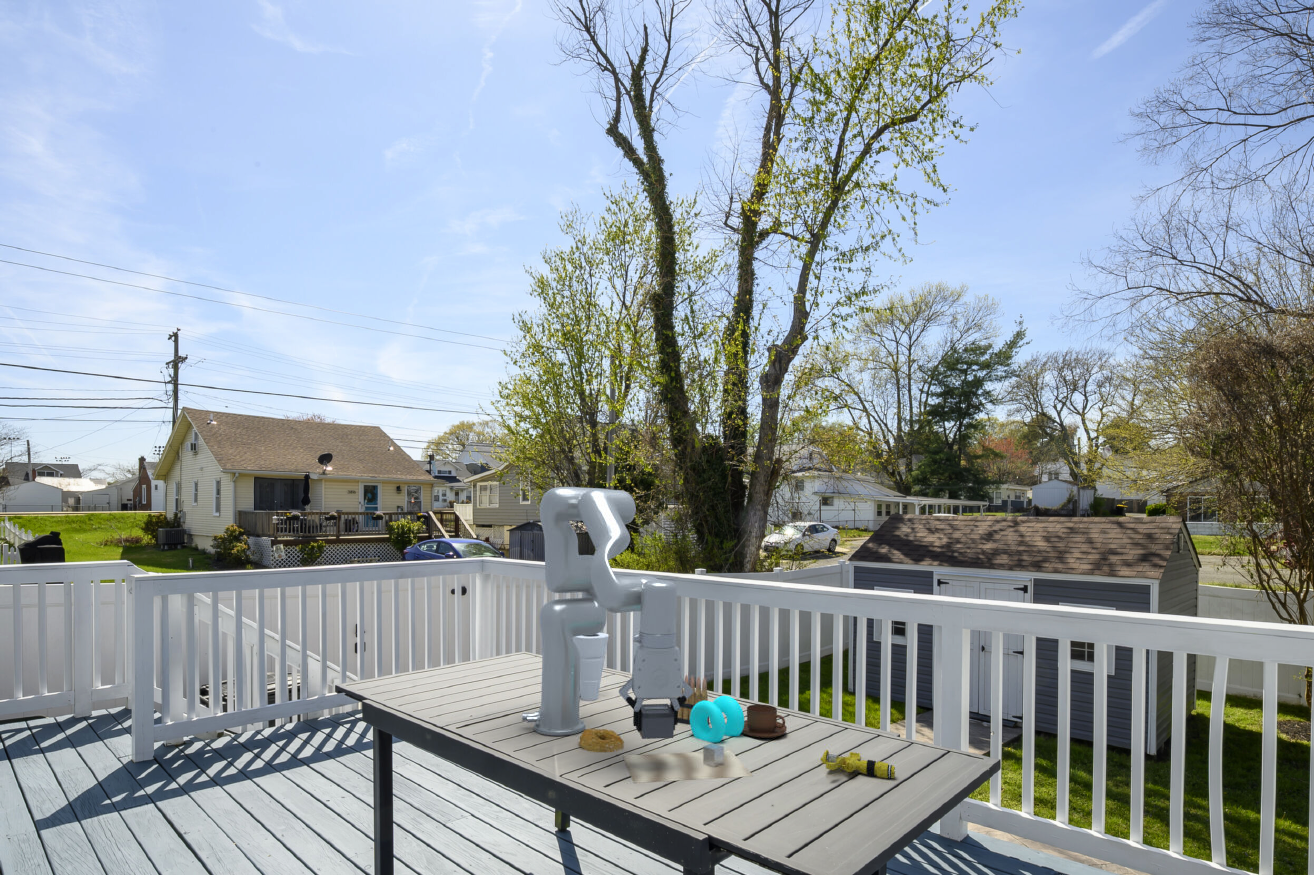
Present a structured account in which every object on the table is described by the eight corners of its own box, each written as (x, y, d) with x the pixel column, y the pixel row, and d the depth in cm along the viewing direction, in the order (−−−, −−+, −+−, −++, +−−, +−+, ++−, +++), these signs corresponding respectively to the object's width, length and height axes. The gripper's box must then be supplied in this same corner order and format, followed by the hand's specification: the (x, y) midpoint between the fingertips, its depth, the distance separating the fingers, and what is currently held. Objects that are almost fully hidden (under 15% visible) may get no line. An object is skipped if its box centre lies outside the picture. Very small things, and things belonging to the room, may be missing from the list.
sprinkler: (890, 768, 138) (813, 754, 144) (890, 790, 137) (812, 775, 143) (899, 753, 155) (830, 742, 161) (899, 773, 154) (829, 761, 160)
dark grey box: (642, 738, 143) (643, 712, 144) (637, 728, 149) (638, 703, 150) (673, 737, 144) (674, 711, 145) (667, 727, 151) (667, 702, 151)
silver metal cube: (714, 767, 146) (714, 749, 146) (703, 763, 148) (703, 746, 148) (723, 763, 148) (723, 746, 148) (712, 760, 150) (712, 743, 150)
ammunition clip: (709, 725, 180) (709, 677, 182) (706, 727, 179) (706, 678, 180) (672, 719, 186) (673, 672, 187) (669, 721, 184) (669, 673, 186)
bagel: (596, 764, 152) (596, 740, 152) (570, 750, 161) (570, 728, 161) (634, 755, 158) (634, 732, 158) (607, 742, 167) (607, 721, 167)
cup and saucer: (788, 729, 178) (788, 704, 179) (784, 743, 167) (784, 716, 168) (741, 725, 182) (741, 700, 182) (733, 739, 170) (733, 712, 171)
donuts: (687, 741, 167) (687, 697, 168) (714, 733, 174) (715, 691, 175) (719, 751, 160) (719, 706, 161) (747, 742, 167) (746, 698, 168)
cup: (566, 696, 209) (567, 633, 211) (600, 692, 213) (601, 631, 216) (577, 704, 199) (579, 639, 201) (613, 701, 204) (614, 636, 206)
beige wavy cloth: (633, 790, 136) (633, 782, 137) (622, 763, 152) (622, 755, 152) (753, 783, 141) (753, 775, 141) (730, 757, 156) (730, 750, 157)
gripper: (619, 644, 143) (616, 736, 142) (702, 643, 146) (700, 733, 145) (614, 637, 151) (611, 724, 149) (693, 637, 154) (691, 722, 152)
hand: (655, 728), depth 147 cm, fingers closed on dark grey box, 6 cm apart
